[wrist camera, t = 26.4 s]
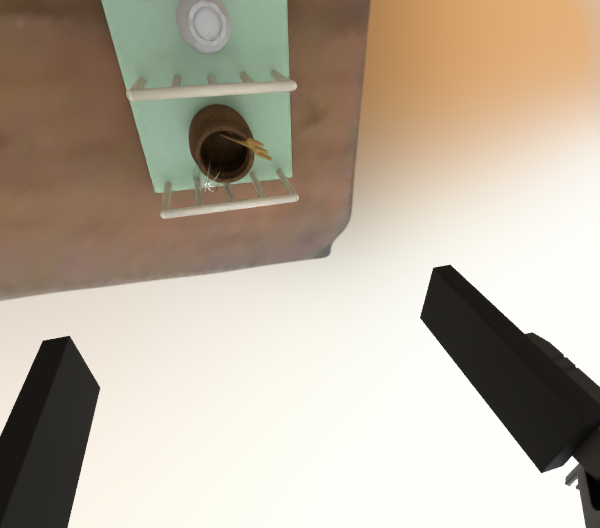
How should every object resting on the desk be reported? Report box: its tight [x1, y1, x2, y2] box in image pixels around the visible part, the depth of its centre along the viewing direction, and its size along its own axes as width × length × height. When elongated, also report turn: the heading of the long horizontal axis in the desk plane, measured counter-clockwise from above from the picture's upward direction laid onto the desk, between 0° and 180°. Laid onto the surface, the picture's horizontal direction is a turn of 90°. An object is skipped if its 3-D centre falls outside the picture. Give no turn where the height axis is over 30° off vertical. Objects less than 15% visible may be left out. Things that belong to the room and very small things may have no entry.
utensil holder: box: [189, 104, 273, 193], centre depth 30 cm, size 6×6×12 cm
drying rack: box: [101, 0, 299, 219], centre depth 30 cm, size 20×15×8 cm
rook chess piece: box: [176, 0, 231, 54], centre depth 26 cm, size 4×4×8 cm
